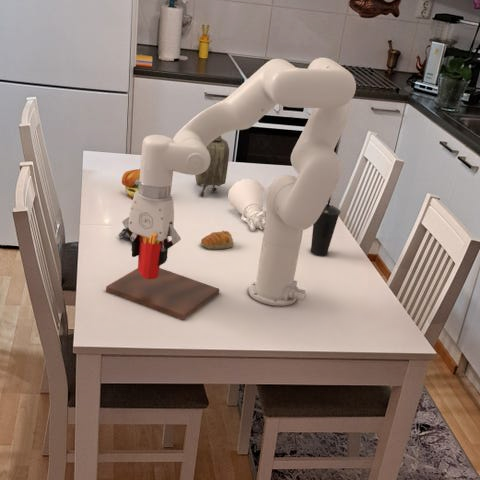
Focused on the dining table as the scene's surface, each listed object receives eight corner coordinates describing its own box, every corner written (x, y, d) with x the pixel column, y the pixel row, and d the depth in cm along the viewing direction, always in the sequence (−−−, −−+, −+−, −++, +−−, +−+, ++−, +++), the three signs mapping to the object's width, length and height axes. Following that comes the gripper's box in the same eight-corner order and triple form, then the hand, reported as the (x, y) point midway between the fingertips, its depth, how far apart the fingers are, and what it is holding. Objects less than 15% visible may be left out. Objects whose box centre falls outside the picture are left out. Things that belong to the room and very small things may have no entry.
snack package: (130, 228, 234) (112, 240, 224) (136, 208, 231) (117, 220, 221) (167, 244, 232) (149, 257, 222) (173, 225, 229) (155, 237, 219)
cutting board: (218, 294, 204) (219, 288, 204) (183, 320, 189) (183, 314, 189) (145, 268, 212) (146, 263, 211) (105, 291, 197) (106, 286, 196)
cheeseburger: (156, 203, 254) (151, 173, 250) (123, 206, 255) (117, 176, 250) (159, 191, 263) (154, 162, 259) (127, 195, 264) (121, 166, 259)
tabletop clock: (193, 183, 276) (201, 111, 265) (219, 185, 278) (228, 113, 267) (196, 198, 264) (205, 123, 252) (223, 200, 265) (233, 125, 254)
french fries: (134, 265, 199) (138, 216, 193) (151, 264, 201) (156, 216, 195) (145, 282, 192) (149, 232, 186) (162, 281, 193) (167, 231, 187)
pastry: (209, 252, 226) (210, 240, 224) (194, 243, 231) (196, 231, 229) (234, 247, 232) (236, 235, 230) (220, 238, 236) (222, 226, 235)
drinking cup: (336, 254, 237) (350, 190, 228) (321, 260, 232) (334, 194, 223) (316, 245, 242) (328, 182, 232) (300, 250, 236) (312, 186, 227)
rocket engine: (267, 204, 239) (252, 172, 252) (234, 224, 241) (221, 191, 254) (284, 229, 246) (269, 196, 259) (252, 248, 249) (239, 215, 261)
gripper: (114, 183, 186) (109, 253, 194) (178, 203, 180) (171, 275, 188) (132, 176, 192) (127, 244, 201) (195, 195, 186) (187, 265, 195)
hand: (148, 259), depth 194 cm, fingers closed on french fries, 6 cm apart
